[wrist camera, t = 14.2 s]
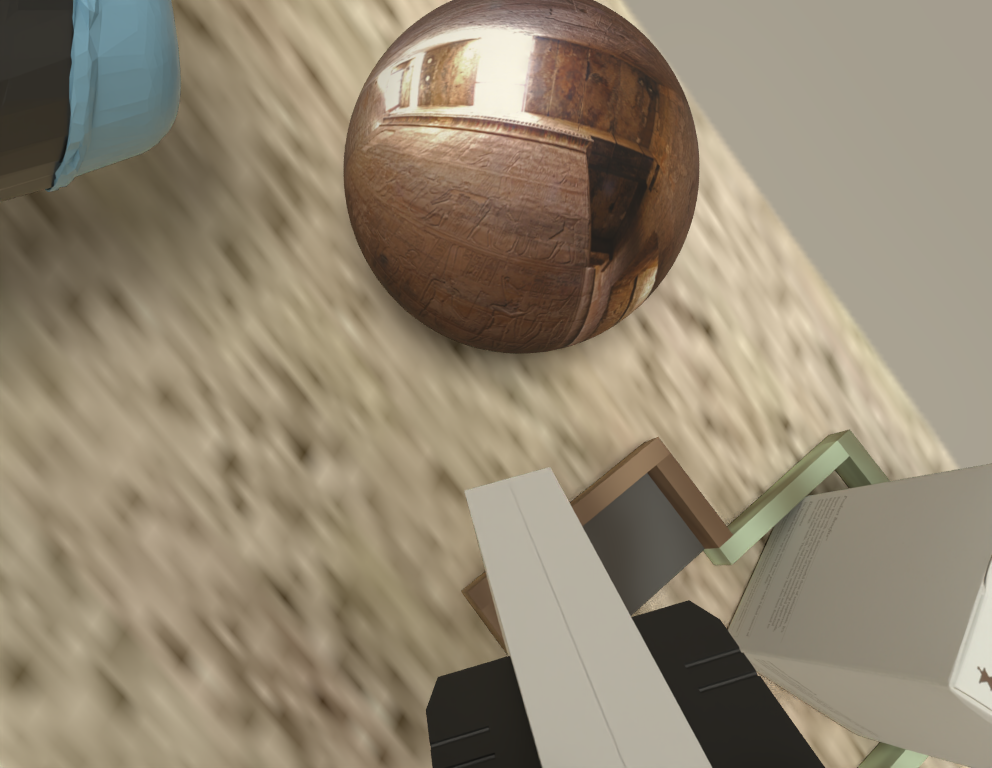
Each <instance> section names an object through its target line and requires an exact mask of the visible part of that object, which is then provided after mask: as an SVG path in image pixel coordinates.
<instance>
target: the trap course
mask: <svg viewBox="0 0 992 768" xmlns="http://www.w3.org/2000/svg"><path fill="white" fill-rule="evenodd" d="M834 470H836V472H837V473H838V474H839V475H840V477H841V478H842V479H843V481H844V482H845V483H846V484H847V486H848V487H849V488H855V487H861V486H867V485H872V484H878V483H884V482H890V481H889V479H888V478H887V477H886V475H885V474H884V473H883V472H882V470H881V469H880V468H879V466H878V465H877V464H876V463H875V461H874V460H873V459H872V458H871V456H870V455H869V454H868V452H867V451H866V450H865V449H864V447H863V446H862V445H861V443H860V442H859V441H858V440H857V438H856V437H855V436H854V434H853V433H852V432H851V431H850V430H846V431H843V432H839V433H835V434H832V435H828V436H827V437H826V438H825V439H824V440H823V441H822V442H821V443H819V444H818V445H817V446H816V447H815V448H814V449H813V450H812V451H811V452H809V453H808V454H807V455H806V456H805V457H804V458H803V459H802V460H801V461H799V462H798V463H797V464H796V465H795V466H794V467H793V468H792V469H791V470H789V471H788V472H787V473H786V474H785V475H784V476H783V477H782V478H781V479H779V480H778V481H777V482H776V483H775V484H774V485H773V486H772V487H771V488H770V489H768V490H767V491H766V492H765V493H764V494H763V495H762V496H761V497H760V498H758V499H757V500H756V501H755V502H754V503H753V504H752V505H751V506H750V507H748V508H747V509H746V510H745V511H744V512H743V513H742V514H741V515H740V516H738V517H737V518H736V519H735V520H734V521H733V522H732V523H731V524H730V525H728V526H726V525H725V524H724V522H723V521H722V520H721V518H720V517H719V516H718V514H717V513H716V512H715V511H714V509H713V508H712V507H711V505H710V504H709V503H708V501H707V500H706V499H705V497H704V496H703V495H702V493H701V492H700V491H699V490H698V488H697V487H696V486H695V484H694V483H693V482H692V480H691V479H690V478H689V476H688V475H687V474H686V473H685V471H684V470H683V469H682V467H681V466H680V465H679V463H678V462H677V461H676V459H675V458H674V457H673V455H672V454H671V453H670V452H669V450H668V449H667V448H666V446H665V445H664V444H663V442H662V441H661V440H660V438H659V437H657V438H654V439H652V440H649V441H647V442H644V443H643V444H642V445H640V446H639V447H638V448H637V449H635V450H634V451H633V452H632V453H631V454H629V455H628V456H627V457H626V458H624V459H623V460H622V461H621V462H619V463H618V464H617V465H616V466H615V467H613V468H612V469H611V470H610V471H608V472H607V473H606V474H605V475H603V476H602V477H601V478H600V479H599V480H597V481H596V482H595V483H594V484H592V485H591V486H590V487H589V488H588V489H586V490H585V491H584V492H583V493H581V494H580V495H579V496H578V497H576V498H575V499H574V500H573V501H572V502H570V505H571V506H572V508H573V510H574V512H575V514H576V516H577V518H578V519H579V521H580V523H581V525H582V527H583V529H584V531H585V532H586V534H587V536H588V538H589V540H590V542H591V544H592V545H593V547H594V549H595V551H596V553H597V555H598V557H599V558H600V560H601V562H602V564H603V566H604V568H605V570H606V571H607V573H608V575H609V577H610V579H611V581H612V583H613V584H614V586H615V588H616V590H617V592H618V594H619V596H620V597H621V599H622V601H623V603H624V605H625V607H626V609H627V610H628V612H629V614H630V616H631V615H632V614H633V613H635V612H636V611H637V610H638V609H639V608H640V607H641V606H642V605H643V604H645V603H646V602H647V601H648V600H649V599H650V598H651V597H652V596H653V595H655V594H656V593H657V592H658V591H659V590H660V589H661V588H662V587H663V586H664V585H666V584H667V583H668V582H669V581H670V580H671V579H672V578H673V577H674V576H676V575H677V574H678V573H679V572H680V571H681V570H682V569H683V568H684V567H686V566H687V565H688V564H689V563H690V562H691V561H692V560H693V559H694V558H696V557H697V556H698V555H699V554H700V553H701V552H702V551H704V552H705V554H706V555H707V556H708V557H709V559H710V560H711V561H712V563H713V564H714V565H732V564H733V563H735V562H736V561H737V560H738V559H739V558H740V557H741V556H742V555H743V554H744V553H745V552H746V551H748V550H749V549H750V548H751V547H752V546H753V545H754V544H755V543H756V542H757V541H758V540H759V539H760V538H762V537H763V536H764V535H765V534H766V533H767V532H768V531H769V530H770V529H771V528H772V527H773V526H775V525H776V524H777V523H778V522H779V521H780V520H781V519H782V518H783V517H784V516H785V515H786V514H787V513H789V512H790V511H791V510H792V509H793V508H794V507H795V506H796V505H797V504H798V503H799V502H800V501H802V500H803V499H804V498H805V497H806V496H807V495H808V494H809V493H810V492H811V491H812V490H813V489H814V488H816V487H817V486H818V485H819V484H820V483H821V482H822V481H823V480H824V479H825V478H826V477H827V476H829V475H830V474H831V473H832V472H833V471H834ZM461 592H462V593H463V595H464V596H465V597H466V599H467V600H468V602H469V603H470V604H471V606H472V607H473V608H474V610H475V611H476V612H477V614H478V615H479V617H480V618H481V619H482V621H483V622H484V623H485V625H486V626H487V627H488V629H489V630H490V632H491V633H492V634H493V636H494V637H495V638H496V640H497V641H498V642H499V644H500V645H501V647H502V648H503V649H504V651H505V652H506V653H507V650H506V646H505V643H504V639H503V636H502V632H501V628H500V625H499V621H498V617H497V614H496V610H495V606H494V602H493V598H492V594H491V591H490V587H489V583H488V579H487V575H486V571H485V572H484V573H483V574H482V575H480V576H479V577H478V578H477V579H476V580H474V581H473V582H472V583H471V584H469V585H468V586H467V587H466V588H464V589H463V590H462V591H461ZM507 655H508V654H507ZM927 757H928V755H924V754H921V753H917V752H914V751H910V750H906V749H903V748H899V747H896V746H893V745H889V744H886V743H882V742H880V743H879V744H878V745H877V747H876V748H875V749H874V750H873V751H872V752H871V753H870V754H869V756H868V757H867V758H866V759H865V760H864V761H863V762H862V763H861V765H860V766H859V767H858V768H919V766H920V765H921V764H922V763H923V762H924V761H925V759H926V758H927Z"/></svg>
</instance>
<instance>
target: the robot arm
mask: <svg viewBox="0 0 992 768" xmlns="http://www.w3.org/2000/svg"><path fill="white" fill-rule="evenodd" d="M180 92H181V75H180V60H179V48H178V40H177V33H176V26H175V20H174V13H173V7H172V2H171V0H0V202H1V201H4V200H8V199H12V198H15V197H19V196H23V195H26V194H30V193H33V192H37V191H41V190H46V191H48V192H51V191H55V190H58V189H59V187H66V186H67V185H68V184H69V183H70V182H71V181H72V180H73V179H74V177H76V176H79V175H82V174H85V173H88V172H90V171H93V170H96V169H99V168H102V167H105V166H108V165H110V164H113V163H116V162H119V161H122V160H125V159H128V158H131V157H134V156H137V155H140V154H142V153H144V152H146V151H148V150H149V149H151V148H152V147H153V146H155V145H156V144H157V143H159V142H160V140H161V139H162V138H163V137H164V136H165V135H166V134H167V133H168V132H169V130H170V129H171V127H172V125H173V123H174V121H175V118H176V115H177V112H178V108H179V102H180ZM465 495H466V499H467V503H468V507H469V510H470V514H471V518H472V522H473V526H474V529H475V533H476V537H477V541H478V545H479V549H480V552H481V556H482V560H483V564H484V568H485V571H486V575H487V579H488V583H489V587H490V591H491V594H492V598H493V602H494V606H495V610H496V614H497V617H498V621H499V625H500V628H501V632H502V636H503V639H504V643H505V646H506V650H507V654H508V657H504V658H501V659H498V660H494V661H491V662H487V663H484V664H481V665H477V666H474V667H471V668H467V669H464V670H460V671H457V672H454V673H450V674H447V675H444V676H440V677H438V678H437V681H436V684H435V686H434V689H433V692H432V695H431V697H430V700H429V703H428V706H427V708H426V715H427V723H428V732H429V740H430V746H431V757H432V766H433V768H825V767H824V765H823V764H822V763H821V761H820V760H819V759H818V757H817V756H816V754H815V753H814V751H813V750H812V749H811V747H810V746H809V744H808V743H807V742H806V740H805V739H804V737H803V736H802V735H801V733H800V732H799V730H798V729H797V727H796V726H795V725H794V723H793V722H792V720H791V719H790V718H789V716H788V715H787V713H786V712H785V711H784V709H783V708H782V706H781V705H780V704H779V702H778V701H777V699H776V698H775V696H774V695H773V694H772V692H771V691H770V689H769V688H768V687H767V685H766V684H765V682H764V681H763V680H762V678H761V677H760V676H758V675H757V673H756V670H755V668H754V667H753V665H752V664H751V663H750V661H749V660H748V658H747V657H746V656H745V654H744V653H741V651H740V648H739V646H738V644H737V643H736V641H735V640H734V639H733V637H732V636H731V634H730V633H729V632H728V630H727V629H726V627H725V626H724V625H723V623H722V622H721V620H720V619H718V618H717V617H715V616H713V615H712V614H710V613H709V612H707V611H705V610H704V609H702V608H701V607H699V606H697V605H696V604H694V603H692V602H691V601H689V600H688V601H685V602H682V603H678V604H675V605H672V606H668V607H665V608H661V609H658V610H655V611H651V612H648V613H644V614H641V615H638V616H634V617H631V616H630V614H629V612H628V610H627V609H626V607H625V605H624V603H623V601H622V599H621V597H620V596H619V594H618V592H617V590H616V588H615V586H614V584H613V583H612V581H611V579H610V577H609V575H608V573H607V571H606V570H605V568H604V566H603V564H602V562H601V560H600V558H599V557H598V555H597V553H596V551H595V549H594V547H593V545H592V544H591V542H590V540H589V538H588V536H587V534H586V532H585V531H584V529H583V527H582V525H581V523H580V521H579V519H578V518H577V516H576V514H575V512H574V510H573V508H572V506H571V505H570V503H569V501H568V499H567V497H566V495H565V493H564V492H563V490H562V488H561V486H560V484H559V482H558V480H557V479H556V477H555V475H554V473H553V471H552V469H551V468H550V467H548V468H544V469H541V470H537V471H534V472H530V473H526V474H523V475H519V476H515V477H512V478H508V479H505V480H501V481H497V482H494V483H490V484H486V485H483V486H479V487H476V488H472V489H468V490H465Z"/></svg>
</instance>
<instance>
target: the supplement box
mask: <svg viewBox="0 0 992 768" xmlns="http://www.w3.org/2000/svg"><path fill="white" fill-rule="evenodd" d="M728 632H729V633H730V634H731V636H732V637H733V639H734V640H735V641H736V643H737V644H738V646H739V648H740V651H741V653H744V654H745V656H746V657H747V658H748V660H749V661H750V663H751V664H752V665H753V667H754V668H755V670H756V672H758V673H760V674H761V675H763V676H764V677H766V678H767V679H769V680H771V681H772V682H774V683H775V684H777V685H779V686H780V687H782V688H783V689H785V690H786V691H788V692H790V693H791V694H793V695H794V696H796V697H797V698H799V699H801V700H802V701H804V702H805V703H807V704H809V705H810V706H812V707H813V708H815V709H816V710H818V711H819V712H821V713H823V714H824V715H826V716H827V717H829V718H830V719H832V720H834V721H835V722H837V723H838V724H840V725H841V726H843V727H845V728H846V729H848V730H850V731H851V732H853V733H855V734H857V735H859V736H862V737H865V738H868V739H872V740H875V741H879V742H882V743H886V744H889V745H893V746H896V747H899V748H903V749H906V750H910V751H914V752H917V753H921V754H924V755H928V756H931V757H935V758H939V759H942V760H946V761H949V762H953V763H956V764H960V765H964V766H967V767H971V768H992V464H986V465H981V466H975V467H970V468H964V469H958V470H952V471H946V472H941V473H935V474H929V475H924V476H918V477H912V478H906V479H901V480H895V481H890V482H884V483H878V484H872V485H867V486H861V487H855V488H849V489H843V490H838V491H832V492H827V493H821V494H816V495H810V496H806V497H805V498H804V499H803V500H802V501H800V502H799V503H798V504H797V505H796V506H795V507H794V508H793V509H792V510H791V511H790V512H789V513H787V514H786V515H785V516H784V517H783V518H782V519H781V520H780V521H779V522H778V523H777V524H776V525H775V526H774V528H773V531H772V533H771V535H770V537H769V540H768V542H767V544H766V546H765V548H764V551H763V553H762V555H761V557H760V559H759V562H758V564H757V566H756V568H755V571H754V573H753V575H752V577H751V579H750V582H749V584H748V586H747V588H746V591H745V593H744V595H743V597H742V599H741V602H740V604H739V606H738V608H737V611H736V613H735V615H734V617H733V619H732V622H731V624H730V626H729V628H728Z"/></svg>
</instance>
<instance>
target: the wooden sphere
mask: <svg viewBox="0 0 992 768" xmlns="http://www.w3.org/2000/svg"><path fill="white" fill-rule="evenodd" d="M698 186H699V150H698V141H697V135H696V130H695V125H694V121H693V117H692V114H691V111H690V107H689V105H688V102H687V99H686V97H685V94H684V92H683V90H682V88H681V86H680V84H679V82H678V80H677V78H676V76H675V74H674V72H673V71H672V69H671V68H670V66H669V65H668V63H667V62H666V60H665V59H664V57H663V56H662V55H661V53H660V52H659V51H658V50H657V48H656V47H655V46H654V45H653V44H652V43H651V42H650V40H649V39H648V38H647V37H646V36H645V35H644V34H643V33H642V32H640V31H639V30H638V29H637V28H636V27H635V26H634V25H632V24H631V23H630V22H629V21H627V20H626V19H625V18H623V17H622V16H620V15H619V14H617V13H616V12H614V11H613V10H611V9H609V8H607V7H606V6H604V5H602V4H600V3H598V2H596V1H594V0H452V1H450V2H448V3H446V4H444V5H442V6H440V7H438V8H436V9H435V10H433V11H431V12H430V13H428V14H427V15H425V16H424V17H422V18H421V19H420V20H418V21H417V22H416V23H414V24H413V25H412V26H411V27H409V28H408V29H407V30H406V31H405V32H404V33H403V34H402V35H401V36H400V37H398V38H397V40H396V41H395V42H394V43H393V44H392V45H391V46H390V47H389V48H388V50H387V51H386V52H385V53H384V55H383V56H382V57H381V58H380V60H379V61H378V63H377V64H376V66H375V67H374V69H373V70H372V72H371V73H370V75H369V77H368V79H367V81H366V82H365V84H364V86H363V88H362V91H361V93H360V95H359V97H358V100H357V102H356V105H355V108H354V111H353V114H352V117H351V120H350V124H349V128H348V133H347V138H346V145H345V153H344V189H345V197H346V203H347V209H348V213H349V217H350V221H351V225H352V228H353V231H354V234H355V237H356V239H357V242H358V244H359V247H360V249H361V251H362V253H363V255H364V257H365V259H366V261H367V263H368V264H369V266H370V268H371V269H372V271H373V273H374V274H375V276H376V277H377V278H378V280H379V281H380V283H381V284H382V285H383V287H384V288H385V289H386V290H387V291H388V293H389V294H390V295H391V296H392V297H393V298H394V299H395V300H396V301H397V302H398V303H399V304H400V305H401V306H402V307H403V308H404V309H405V310H406V311H407V312H409V313H410V314H411V315H412V316H414V317H415V318H416V319H417V320H419V321H420V322H422V323H423V324H425V325H426V326H428V327H429V328H431V329H433V330H434V331H436V332H438V333H440V334H442V335H444V336H446V337H448V338H450V339H452V340H455V341H457V342H460V343H463V344H466V345H469V346H472V347H476V348H479V349H484V350H489V351H495V352H503V353H537V352H545V351H551V350H556V349H561V348H565V347H568V346H572V345H575V344H577V343H580V342H583V341H585V340H588V339H590V338H592V337H595V336H597V335H599V334H601V333H602V332H604V331H606V330H608V329H610V328H611V327H613V326H614V325H616V324H617V323H619V322H620V321H622V320H623V319H624V318H626V317H627V316H628V315H630V314H631V313H632V312H633V311H634V310H636V309H637V308H638V307H639V306H640V305H641V304H642V303H643V302H644V301H645V300H646V299H647V298H648V297H649V296H650V295H651V294H652V293H653V291H654V290H655V289H656V288H657V287H658V286H659V284H660V283H661V282H662V280H663V279H664V278H665V276H666V275H667V273H668V272H669V270H670V269H671V267H672V265H673V264H674V262H675V260H676V258H677V256H678V254H679V253H680V250H681V248H682V246H683V244H684V241H685V239H686V237H687V234H688V231H689V228H690V225H691V222H692V219H693V215H694V210H695V206H696V201H697V194H698Z"/></svg>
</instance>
